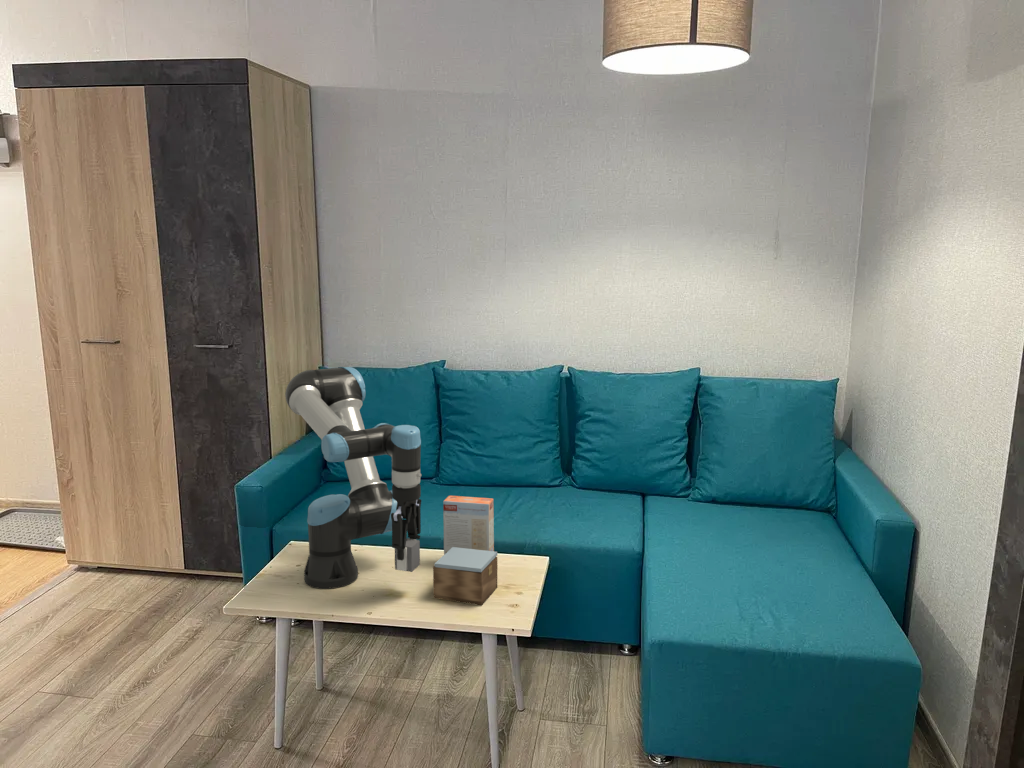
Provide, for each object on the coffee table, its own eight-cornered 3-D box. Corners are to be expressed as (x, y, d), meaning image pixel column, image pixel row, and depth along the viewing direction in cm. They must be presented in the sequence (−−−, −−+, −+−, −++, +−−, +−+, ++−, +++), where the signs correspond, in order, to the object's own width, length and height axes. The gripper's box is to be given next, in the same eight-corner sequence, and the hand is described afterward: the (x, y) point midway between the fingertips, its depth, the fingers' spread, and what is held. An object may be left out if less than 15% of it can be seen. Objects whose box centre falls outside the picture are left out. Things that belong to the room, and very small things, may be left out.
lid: (434, 567, 214) (434, 563, 214) (452, 550, 226) (452, 547, 226) (481, 572, 210) (481, 568, 210) (497, 555, 221) (497, 551, 221)
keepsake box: (432, 597, 216) (432, 566, 215) (450, 580, 227) (450, 550, 226) (482, 605, 212) (482, 573, 210) (498, 587, 223) (498, 557, 221)
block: (395, 569, 215) (394, 544, 214) (403, 562, 220) (403, 538, 218) (411, 572, 213) (411, 547, 212) (419, 564, 218) (419, 540, 217)
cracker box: (494, 564, 239) (494, 497, 235) (489, 572, 233) (489, 504, 229) (449, 560, 242) (449, 494, 238) (443, 568, 236) (442, 500, 232)
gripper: (403, 496, 202) (404, 581, 207) (433, 475, 219) (433, 555, 224) (377, 492, 205) (378, 577, 209) (408, 472, 221) (409, 551, 226)
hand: (406, 565), depth 217 cm, fingers closed on block, 5 cm apart
